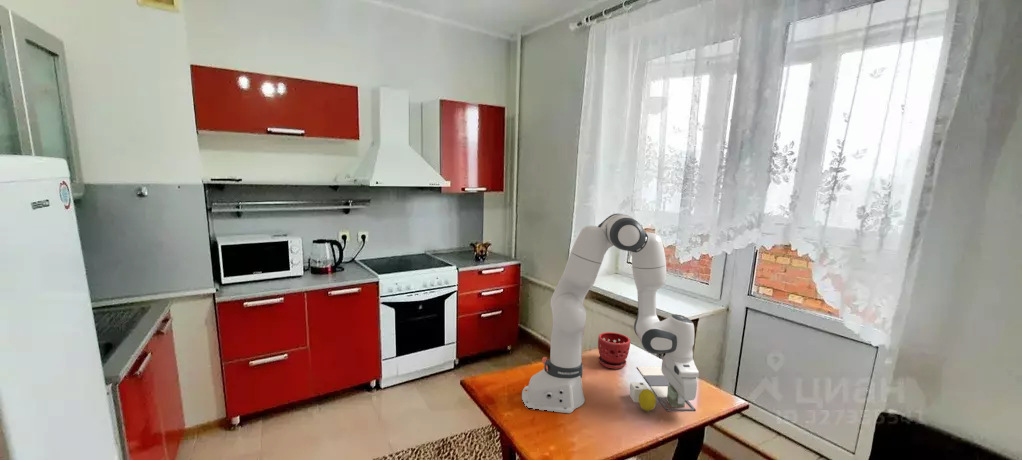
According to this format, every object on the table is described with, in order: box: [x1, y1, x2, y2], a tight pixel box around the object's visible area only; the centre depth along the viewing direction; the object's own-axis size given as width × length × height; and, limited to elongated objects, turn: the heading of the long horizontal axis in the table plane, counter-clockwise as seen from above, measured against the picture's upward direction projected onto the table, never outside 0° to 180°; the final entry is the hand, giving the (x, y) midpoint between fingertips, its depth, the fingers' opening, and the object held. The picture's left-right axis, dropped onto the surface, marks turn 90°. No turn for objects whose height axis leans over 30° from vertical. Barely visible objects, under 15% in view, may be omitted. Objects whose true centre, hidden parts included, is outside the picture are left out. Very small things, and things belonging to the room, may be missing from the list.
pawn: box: [666, 384, 686, 408], centre depth 144 cm, size 4×4×9 cm
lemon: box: [638, 388, 657, 412], centre depth 139 cm, size 6×6×8 cm
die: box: [629, 381, 649, 403], centre depth 147 cm, size 5×5×5 cm
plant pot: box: [597, 331, 631, 370], centre depth 173 cm, size 13×13×12 cm
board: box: [636, 366, 696, 412], centre depth 156 cm, size 10×32×1 cm, turn 1°
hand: (675, 398), depth 144 cm, fingers closed on pawn, 4 cm apart
